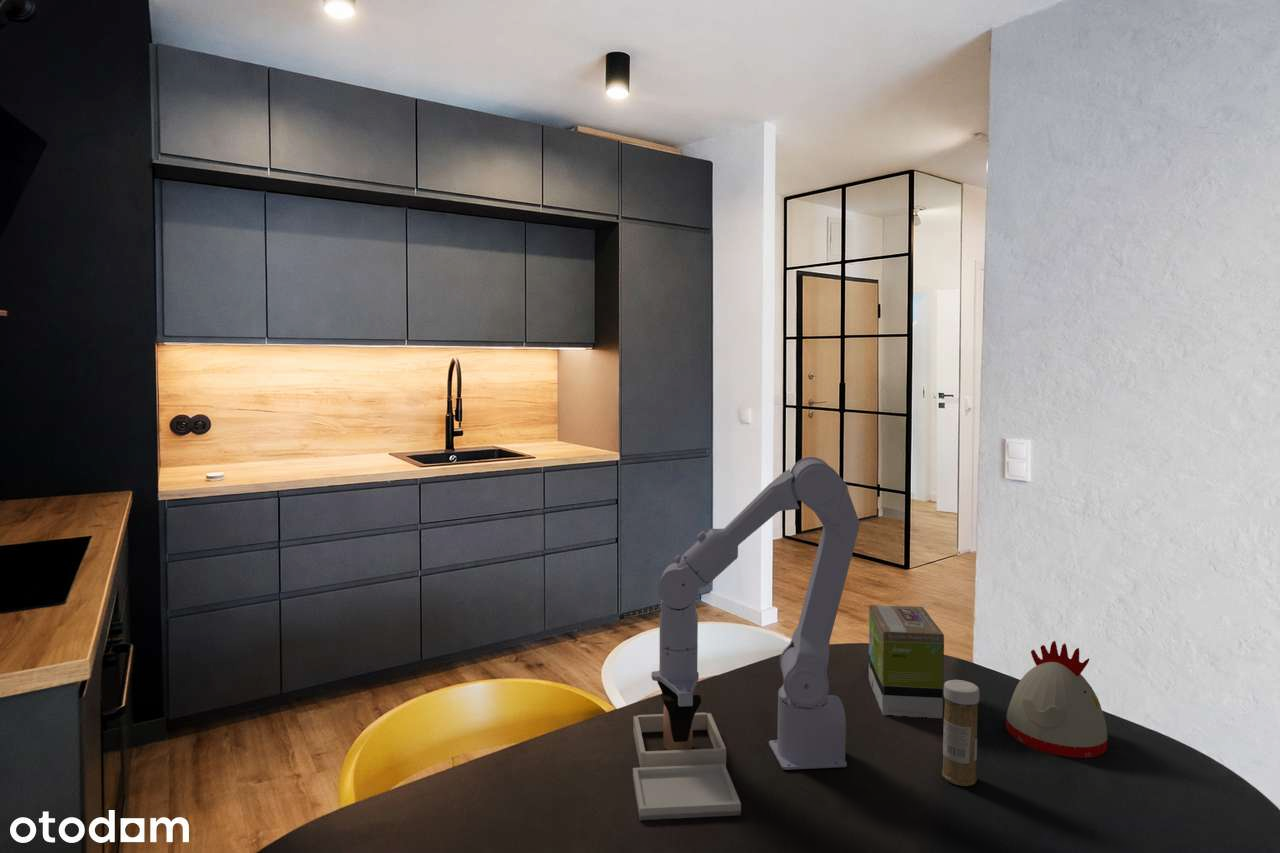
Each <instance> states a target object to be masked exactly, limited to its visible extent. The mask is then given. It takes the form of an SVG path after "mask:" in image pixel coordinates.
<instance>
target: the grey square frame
mask: <svg viewBox="0 0 1280 853" xmlns="http://www.w3.org/2000/svg"><path fill="white" fill-rule="evenodd" d="M632 721H633V727H632V728H633V730H632V731H633V736H634V742H635V747H636V753H637V757H638V758H637V759H638V762H639V763H638V764H639V768H641V767H663V766H686V765H708V764H725V766H727V748H726V746H725V743H724V741H723V739H722V738H723V737H721V734H720V732H719V729H718V727H717V724H716V722H715V720H714V717H713V715H712V713H710V712H709V713H708V712H696V713H695V715H694V718H693V731H707V734H708V737H709V739H710V741H711V744H712V747H713V748H698V749H694V748H693V749H692V748H691V749H690V750H648V751H647V750H646V748H645V744H644V739H643V735H642V733H654V732H655V733H656V732H657V733H659V732H660V733H661V732H662V733H663V713H655V714H638V715H633V719H632Z"/></svg>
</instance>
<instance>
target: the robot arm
mask: <svg viewBox="0 0 1280 853" xmlns="http://www.w3.org/2000/svg"><path fill="white" fill-rule="evenodd" d="M798 501H800V502H802V503H803V504H804V505H805V506H806V507H807V508H808V509H810V510H812V511H813V513H814V514H815V516H817V519H818V520H819V521H820V523H821V525H822V531H821V535H820V538H819V542H818V546H817V550H816V554H815V558H814V561H813V566H812V569H811V574H810V578H809V581H808V585H807V589H806V593H805V596H804V600H803V604H802V609H801V612H800V615H799V619H798V624H797V626H796V628H795V630H794V632H793V633H792V637H791V640H790V642H789V644H788V645H787V646H786V647H785V648H784V650H783V651H782V653H781V654H780V656H779V667H780V670H781V673H782V679H783V684H782V686H781V687H780V688H779V689H778V691H777V694H778V695H777V736H776V737H777V739H774V740H773V739H772V740H769V741H768V745H769V747H770V748H771V750H772V752H773V754H774V756H775V758H776V759H777V761H778V763H779V765H780V766H781V767H780V768H782V770H786V771H789V770H806V769H807V770H811V769H829V768H830V769H832V768H833V769H834V768H846V767H847V766H848V765H847V764H848V762H847V761H846V738H847V737H846V735H847V733H846V731H847V730H846V727H847V724H846V722H847V721H846V719H847V718H846V712H845V707H844V704H843V702H842V700H841V698H840V696H837V695H833V694H829V688H830V685H829V684H830V682H829V679H828V675H827V670H828V667H829V666H828V665H829V661H830V660H829V659H830V642H831V637H832V634H833V629H834V625H835V622H836V618H837V614H838V610H839V606H840V603H841V599H842V595H843V591H844V588H845V583H846V580H847V576H848V572H849V568H850V565H851V561H852V557H853V552H854V549H855V546H856V543H857V542H856V541H857V538H858V534H859V531H860V520H859V517H858V514H857V511H856V509H855V506H854V504H853V501H852V497H851V494H850V492H849V489H848V484H847V483H846V482H845V481H844V480H843V478H842V477H841V476H840V475H839V474H838V473H837V471H836V470H835V469H834V468H832V467H831V466H830V465H829V464H828V463H827V462H825V460H823V459H821V458H818V457H813V456H808V457H804V458H802V459H800V460H798V461H797V462H795V464H793V466H792V468H791V470H790V469H789V468H788V469H787V470H784V472H782V473H781V474H779V475H778V476H777V477H776V478H775V479H774V480H772V482H770V483H768V485H767V486H765V488H764V489H763V490H762V491H761V492H760V493H758V495H756V496H755V498H753V500H752V501H750V502H749V504H748V505H746V507H745V508H743V510H742V511H740V513H738V515H736V516H735V517H734V518H733V519H732V520H731V521H730V522H729V523H728V524H727V525H726V526H725V527H724V528H710V529H709V530H708V531H704V530H702V531H701V532H699V533H698V535H697V536H696V539H697V541H695V543H694V544H693V545H692V546H691V547H690V548H689V549H688V550H686V551H685V552H684V553H683V554H682V555H681V554H677V555H676V556H675V557H674V559H673V560H674V562H673V563H671V564H668V566H666V568H665V569H664V570H663V572H662V575H661V577H660V579H659V581H658V582H659V583H658V596H659V598H660V603H659V607H660V613H659V670H657V671H651V674H650V675H651V679H652V681H654V682H657V684H658V686H659V688H660V691H661V698H662V702H663V705H664V704H665V706H666V708H667V710H668V714H669V719H670V726H671V733H672V737H673V740H674V742H687V741H688V738H689V734H690V730H691V725H692V721H693V718H694V715H695V713H697V711H698V709H699V707H700V706H701V704H702V697H701V695H700V694H694V690H695V688H696V686H697V683H698V681H699V676H700V675H699V672H698V654H699V653H698V651H699V650H698V648H699V647H698V646H699V644H698V643H699V642H698V638H699V637H698V636H699V635H698V633H699V632H698V631H699V630H698V629H699V618H698V617H699V616H698V612H697V599H698V596H699V590H700V589H701V588H704V587H707V586H709V585H710V583H712V582H713V581H714V580H715V579H716V578H717V577H719V575H720V574H721V573H723V572H724V571H725V570H726V569H727V568H728V567H729V566H730V565H731V564H733V563H734V562H735V561H736V560H738V558H739V557H738V556H739V545H740V544H742V543H743V542H744V541H745V540H746V539H748V538H749V537H750V536H751V535H753V533H755V532H756V531H757V530H758V529H759V528H761V527H762V526H764V524H766V522H768V521H769V520H770V519H771V518H773V517H774V516H775V515H776V514H777V513H780V512H783V511H784V512H785V511H792V510H793V511H794V510H799V509H801V508H800V506H799V504H798Z"/></svg>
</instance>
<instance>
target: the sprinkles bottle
mask: <svg viewBox="0 0 1280 853" xmlns="http://www.w3.org/2000/svg"><path fill="white" fill-rule="evenodd" d="M943 700H944V708H943V711H944V713H943V736H942V754H943V755H942V756H943V757H942V758H943V760H942V770H941V776H942V777H943V778H944V780H946V781H947V782H949V783H951V784H953V785H957V786H962V787H969V786H974V785H975V784H976V782H977V779H978V777H977V760H978V758H977V757H978V737H977V736H978V708H979V707H978V705H979V702H980V689H979V687H978V685H976V684H974V683H973V682H970V681H968V680H960V679H949V680H946V681H945V682H943Z"/></svg>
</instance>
